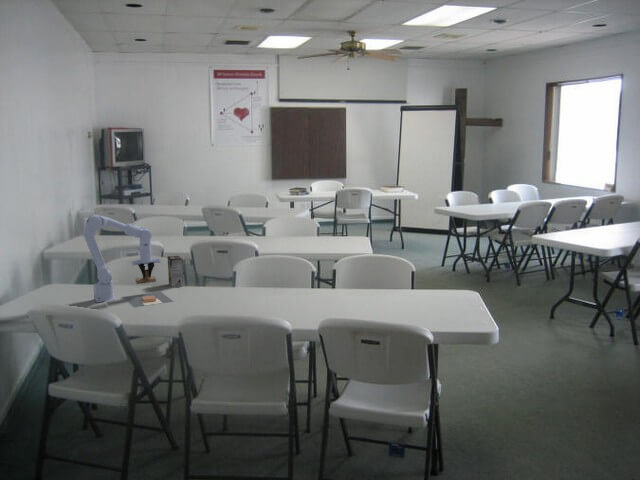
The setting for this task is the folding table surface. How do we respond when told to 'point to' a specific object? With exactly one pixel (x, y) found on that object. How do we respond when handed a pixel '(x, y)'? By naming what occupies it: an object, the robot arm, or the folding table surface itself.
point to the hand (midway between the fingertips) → (146, 277)
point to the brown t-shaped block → (146, 279)
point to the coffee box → (175, 271)
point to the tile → (148, 299)
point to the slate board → (137, 302)
